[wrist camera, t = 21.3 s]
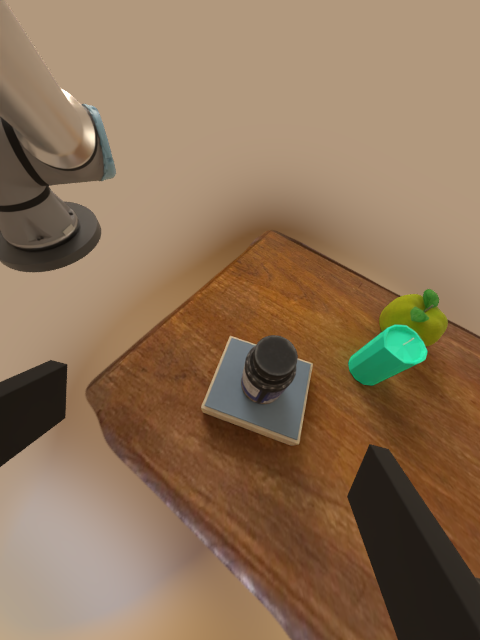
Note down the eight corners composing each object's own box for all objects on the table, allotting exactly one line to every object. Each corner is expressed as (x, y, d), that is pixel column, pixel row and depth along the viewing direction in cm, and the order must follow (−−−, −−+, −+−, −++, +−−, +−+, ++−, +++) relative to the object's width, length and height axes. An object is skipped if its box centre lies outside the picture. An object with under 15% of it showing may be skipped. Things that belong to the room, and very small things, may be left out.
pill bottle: (283, 368, 35) (306, 334, 26) (280, 409, 32) (304, 388, 23) (243, 360, 36) (252, 324, 26) (236, 400, 32) (243, 376, 23)
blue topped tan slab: (202, 412, 35) (200, 407, 32) (229, 344, 41) (230, 334, 38) (291, 445, 34) (299, 444, 30) (305, 370, 40) (313, 362, 36)
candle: (350, 348, 43) (391, 313, 32) (382, 360, 42) (435, 327, 32) (346, 378, 40) (389, 349, 29) (381, 391, 39) (439, 366, 29)
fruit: (359, 331, 45) (392, 301, 36) (384, 307, 48) (420, 274, 40) (401, 367, 41) (449, 343, 33) (425, 338, 45) (473, 310, 36)
